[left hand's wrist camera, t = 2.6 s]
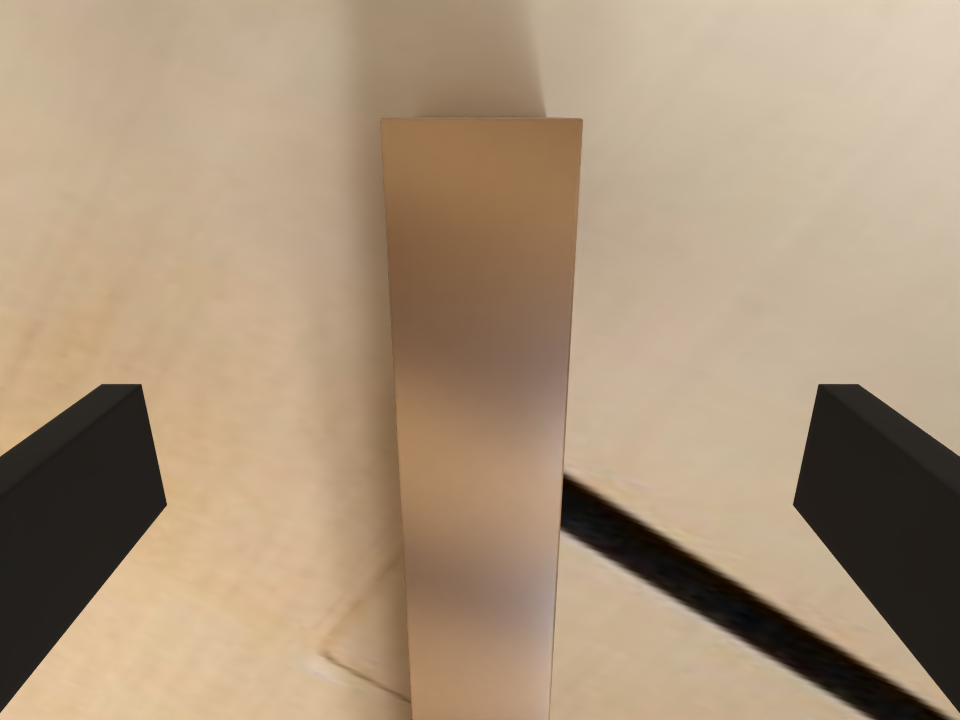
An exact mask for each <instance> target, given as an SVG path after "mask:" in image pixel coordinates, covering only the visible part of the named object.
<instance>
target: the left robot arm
mask: <svg viewBox="0 0 960 720" xmlns="http://www.w3.org/2000/svg"><path fill="white" fill-rule="evenodd" d="M166 506H167V503H166V498H165V493H164V489H163V484H162V479H161V474H160V470H159V465H158V460H157V456H156V451H155V446H154V441H153V437H152V432H151V427H150V423H149V418H148V413H147V409H146V404H145V399H144V394H143V390H142V385H141V384H101V385H100V386H99V387H97V388H96V389H94V390H93V391H92V392H90V393H89V394H87V395H86V396H85V397H83V398H82V399H80V400H79V401H78V402H76V403H75V404H73V405H72V406H71V407H69V408H68V409H66V410H65V411H64V412H62V413H61V414H59V415H58V416H57V417H55V418H54V419H52V420H51V421H50V422H48V423H47V424H45V425H44V426H43V427H41V428H40V429H38V430H37V431H36V432H34V433H33V434H31V435H30V436H29V437H27V438H26V439H24V440H23V441H22V442H20V443H19V444H17V445H16V446H15V447H13V448H12V449H10V450H9V451H8V452H6V453H5V454H3V455H2V456H1V457H0V713H1V711H2V710H3V709H4V708H5V706H6V705H7V704H8V703H9V701H10V700H11V699H12V698H13V696H14V695H15V694H16V693H17V691H18V690H19V689H20V688H21V686H22V685H23V684H24V683H25V681H26V680H27V679H28V678H29V676H30V675H31V674H32V673H33V671H34V670H35V669H36V668H37V666H38V665H39V664H40V663H41V661H42V660H43V659H44V658H45V657H46V655H47V654H48V653H49V652H50V650H51V649H52V648H53V647H54V645H55V644H56V643H57V642H58V640H59V639H60V638H61V637H62V635H63V634H64V633H65V632H66V630H67V629H68V628H69V627H70V625H71V624H72V623H73V622H74V620H75V619H76V618H77V617H78V615H79V614H80V613H81V612H82V610H83V609H84V608H85V607H86V605H87V604H88V603H89V602H90V600H91V599H92V598H93V597H94V595H95V594H96V593H97V592H98V590H99V589H100V588H101V587H102V585H103V584H104V583H105V582H106V580H107V579H108V578H109V577H110V575H111V574H112V573H113V572H114V570H115V569H116V568H117V567H118V565H119V564H120V563H121V562H122V560H123V559H124V558H125V557H126V555H127V554H128V553H129V552H130V550H131V549H132V548H133V547H134V545H135V544H136V543H137V542H138V540H139V539H140V538H141V537H142V536H143V534H144V533H145V532H146V531H147V529H148V528H149V527H150V526H151V524H152V523H153V522H154V521H155V519H156V518H157V517H158V516H159V514H160V513H161V512H162V511H163V509H164V508H165V507H166ZM793 506H794V507H795V508H796V509H797V511H798V512H799V513H800V514H801V516H802V517H803V518H804V519H805V521H806V522H807V523H808V524H809V526H810V527H811V528H812V529H813V531H814V532H815V533H816V534H817V536H818V537H819V538H820V539H821V540H822V542H823V543H824V544H825V545H826V547H827V548H828V549H829V550H830V552H831V553H832V554H833V555H834V557H835V558H836V559H837V560H838V562H839V563H840V564H841V565H842V567H843V568H844V569H845V570H846V572H847V573H848V574H849V575H850V577H851V578H852V579H853V580H854V582H855V583H856V584H857V585H858V587H859V588H860V589H861V590H862V592H863V593H864V594H865V595H866V597H867V598H868V599H869V600H870V602H871V603H872V604H873V605H874V607H875V608H876V609H877V610H878V612H879V613H880V614H881V615H882V617H883V618H884V619H885V620H886V622H887V623H888V624H889V625H890V627H891V628H892V629H893V630H894V632H895V633H896V634H897V635H898V637H899V638H900V639H901V640H902V642H903V643H904V644H905V645H906V647H907V648H908V649H909V650H910V652H911V653H912V654H913V655H914V657H915V658H916V659H917V660H918V661H919V663H920V664H921V665H922V666H923V668H924V669H925V670H926V671H927V673H928V674H929V675H930V676H931V678H932V679H933V680H934V681H935V683H936V684H937V685H938V686H939V688H940V689H941V690H942V691H943V693H944V694H945V695H946V696H947V698H948V699H949V700H950V701H951V703H952V704H953V705H954V706H955V708H956V709H957V710H958V711H959V713H960V457H959V456H958V455H957V454H955V453H954V452H952V451H951V450H950V449H948V448H947V447H945V446H944V445H943V444H941V443H940V442H938V441H937V440H936V439H934V438H933V437H931V436H930V435H929V434H927V433H926V432H924V431H923V430H922V429H920V428H919V427H917V426H916V425H915V424H913V423H912V422H910V421H909V420H908V419H906V418H905V417H903V416H902V415H901V414H899V413H898V412H896V411H895V410H894V409H892V408H891V407H889V406H888V405H887V404H885V403H884V402H882V401H881V400H880V399H878V398H877V397H875V396H874V395H873V394H871V393H870V392H868V391H867V390H866V389H864V388H863V387H861V386H860V385H859V384H819V385H818V390H817V394H816V399H815V404H814V409H813V413H812V418H811V423H810V427H809V432H808V437H807V441H806V446H805V451H804V456H803V460H802V465H801V470H800V474H799V479H798V484H797V489H796V493H795V498H794V503H793Z"/></svg>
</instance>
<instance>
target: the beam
mask: <svg viewBox="0 0 960 720" xmlns="http://www.w3.org/2000/svg"><path fill="white" fill-rule="evenodd" d="M380 123H381V142H382V161H383V180H384V199H385V217H386V236H387V255H388V274H389V293H390V312H391V331H392V349H393V368H394V387H395V406H396V425H397V444H398V463H399V481H400V500H401V519H402V538H403V557H404V576H405V595H406V614H407V632H408V651H409V670H410V689H411V708H412V720H549V717H550V699H551V681H552V663H553V646H554V628H555V610H556V592H557V574H558V556H559V538H560V520H561V503H562V485H563V467H564V449H565V431H566V413H567V395H568V377H569V360H570V342H571V324H572V306H573V288H574V270H575V252H576V234H577V217H578V199H579V181H580V163H581V145H582V127H583V120H582V119H581V118H556V117H403V118H382V119H381V121H380Z"/></svg>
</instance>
